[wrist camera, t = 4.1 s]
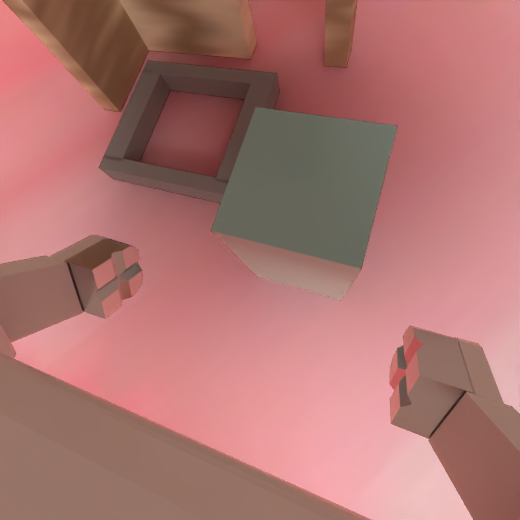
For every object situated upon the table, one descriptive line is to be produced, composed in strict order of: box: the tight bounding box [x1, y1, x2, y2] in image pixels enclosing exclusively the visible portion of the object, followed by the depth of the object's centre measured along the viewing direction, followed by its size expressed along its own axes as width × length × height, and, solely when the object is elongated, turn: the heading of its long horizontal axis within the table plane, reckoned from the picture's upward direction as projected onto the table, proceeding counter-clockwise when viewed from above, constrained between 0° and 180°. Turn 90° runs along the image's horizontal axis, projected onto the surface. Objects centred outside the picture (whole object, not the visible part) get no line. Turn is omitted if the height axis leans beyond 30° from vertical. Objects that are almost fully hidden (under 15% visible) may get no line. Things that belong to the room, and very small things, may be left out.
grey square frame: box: [99, 61, 280, 203], centre depth 20 cm, size 10×9×2 cm
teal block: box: [211, 107, 397, 301], centre depth 14 cm, size 5×5×8 cm
